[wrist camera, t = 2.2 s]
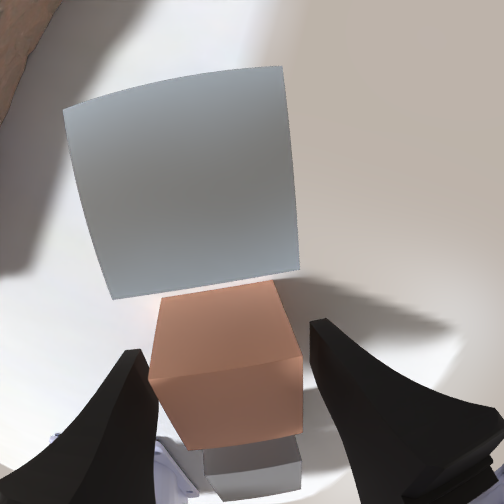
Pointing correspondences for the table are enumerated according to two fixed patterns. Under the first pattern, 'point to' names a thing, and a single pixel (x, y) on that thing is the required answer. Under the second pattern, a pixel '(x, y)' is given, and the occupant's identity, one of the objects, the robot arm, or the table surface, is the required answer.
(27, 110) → the table surface
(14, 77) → the brick
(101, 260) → the slate block
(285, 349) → the terracotta block
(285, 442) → the gray block
